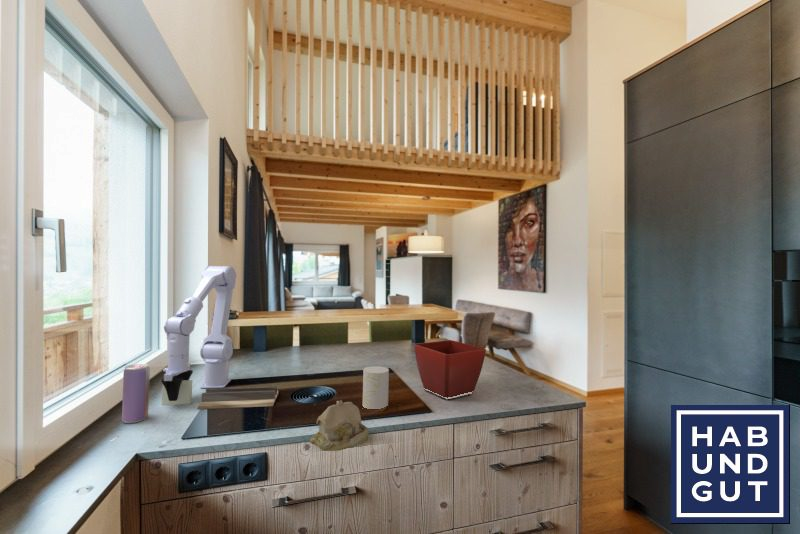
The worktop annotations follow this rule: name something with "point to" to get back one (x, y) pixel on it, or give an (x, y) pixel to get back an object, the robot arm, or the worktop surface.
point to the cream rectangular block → (183, 396)
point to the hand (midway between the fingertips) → (177, 397)
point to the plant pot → (449, 366)
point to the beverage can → (135, 393)
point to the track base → (238, 397)
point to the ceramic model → (340, 427)
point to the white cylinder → (375, 387)
